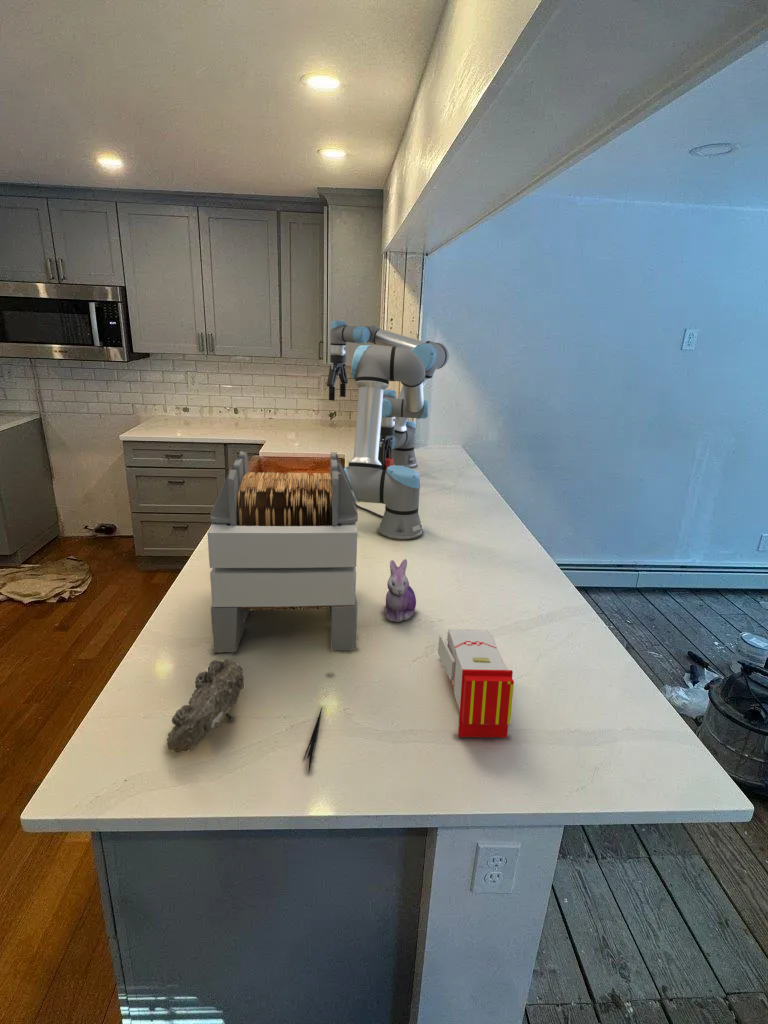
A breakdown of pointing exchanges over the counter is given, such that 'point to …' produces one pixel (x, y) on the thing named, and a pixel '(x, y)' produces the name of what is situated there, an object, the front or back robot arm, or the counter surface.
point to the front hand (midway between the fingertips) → (383, 477)
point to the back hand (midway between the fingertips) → (337, 398)
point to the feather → (313, 740)
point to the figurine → (399, 594)
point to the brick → (388, 462)
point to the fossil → (206, 705)
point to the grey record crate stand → (283, 549)
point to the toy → (478, 682)
